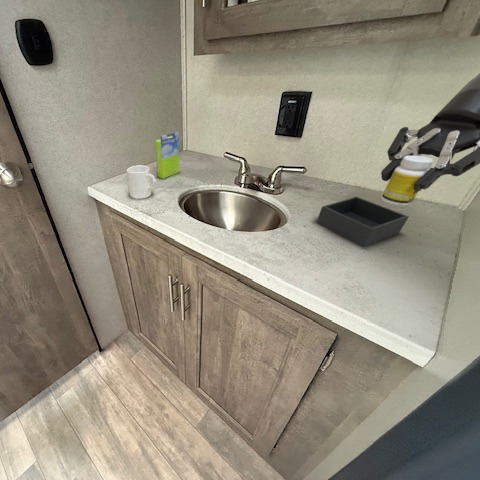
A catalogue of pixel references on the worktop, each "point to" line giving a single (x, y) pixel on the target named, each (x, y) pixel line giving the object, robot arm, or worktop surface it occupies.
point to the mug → (140, 181)
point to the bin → (361, 220)
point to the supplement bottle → (406, 180)
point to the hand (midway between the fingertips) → (399, 183)
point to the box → (167, 155)
